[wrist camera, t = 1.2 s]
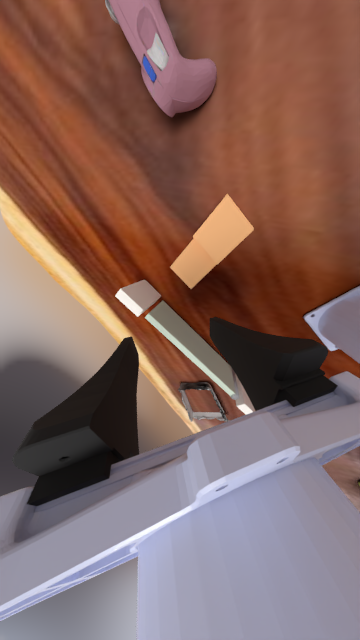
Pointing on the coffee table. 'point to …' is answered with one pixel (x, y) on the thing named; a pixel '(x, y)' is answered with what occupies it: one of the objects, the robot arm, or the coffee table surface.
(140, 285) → the door frame
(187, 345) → the door
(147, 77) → the pink elongated piece
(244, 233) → the stepped wooden block
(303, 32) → the coffee table surface
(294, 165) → the coffee table surface
